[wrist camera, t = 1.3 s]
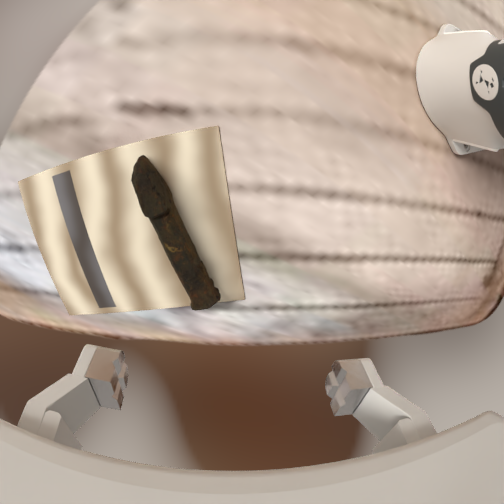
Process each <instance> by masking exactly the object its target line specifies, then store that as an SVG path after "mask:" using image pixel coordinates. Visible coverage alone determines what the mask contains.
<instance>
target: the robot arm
mask: <svg viewBox="0 0 504 504" xmlns="http://www.w3.org/2000/svg"><path fill="white" fill-rule="evenodd" d="M416 80H417V87H418V92H419V95H420V99H421V101H422V104H423V106H424V109H425V111H426V112H427V114H428V116H429V118H430V119H431V120H432V122H433V123H434V124H435V125H436V127H437V128H438V129H439V130H440V131H441V132H442V133H443V134H444V135H445V136H446V138H447V140H448V143H449V145H450V147H451V149H452V151H453V152H454V153H455V154H458V155H464V154H469V153H473V152H477V151H481V150H490V151H494V152H498V150H499V149H504V39H503V40H498V39H497V38H496V37H495V36H493V35H491V34H490V33H489V32H488V31H485V30H474V31H462V30H460V29H459V28H457V27H455V26H454V25H452V24H444V25H442V27H441V28H440V31H439V33H438V35H437V36H436V37H435V38H433V39H432V40H430V41H428V42H427V43H426V44H425V45H424V46H423V48H422V49H421V51H420V54H419V56H418V60H417V66H416ZM464 144H465V146H464ZM124 359H125V355H124V352H123V351H120V350H115V349H110V348H105V347H100V346H94V345H89V344H87V345H86V346H84V348H83V350H82V353H81V355H80V357H79V359H78V362H77V364H76V366H75V368H74V371H73V373H72V374H67V375H66V376H65V377H63V378H62V379H60V380H59V381H57V382H56V383H54V384H53V385H51V386H50V387H48V388H47V389H45V390H44V391H42V392H41V393H39V394H38V395H36V396H35V397H33V398H32V399H30V400H29V401H28V402H27V404H26V406H25V409H24V411H23V413H22V416H21V418H20V421H19V423H18V426H15V425H12V424H10V423H8V422H6V421H4V420H2V419H0V504H504V417H502V416H501V415H499V414H497V413H495V412H493V411H487V412H484V413H482V414H480V415H478V416H476V417H474V418H472V419H470V420H468V421H466V422H463V423H461V424H459V425H457V426H454V427H452V428H450V429H447V430H445V431H442V432H440V433H436V431H435V429H434V427H433V425H432V423H431V421H430V419H429V417H428V415H427V413H426V412H425V411H423V410H422V409H421V408H419V407H418V406H416V405H415V404H413V403H412V402H410V401H409V400H407V399H406V398H404V397H403V396H402V395H400V394H399V393H397V392H396V391H394V390H393V389H391V388H390V387H388V386H384V384H383V382H382V381H381V378H380V377H379V375H378V373H377V371H376V369H375V367H374V365H373V363H372V361H371V360H370V359H369V358H362V359H349V360H336V361H335V362H334V363H333V365H332V369H333V371H331V372H330V373H329V374H328V376H327V378H326V384H325V386H326V392H327V395H328V396H329V397H331V398H332V401H331V403H330V404H331V407H332V410H333V413H334V416H340V415H348V414H353V416H354V417H355V418H356V419H357V420H358V421H359V422H360V423H361V424H363V425H364V426H365V427H366V428H367V429H368V430H369V431H370V432H371V433H372V434H373V435H374V436H375V437H376V438H377V439H378V440H379V441H380V442H379V443H378V444H377V445H376V446H375V447H374V448H373V450H372V452H373V454H371V455H367V456H362V457H358V458H353V459H349V460H344V461H339V462H333V463H327V464H321V465H314V466H306V467H298V468H288V469H276V470H259V471H209V470H192V469H180V468H170V467H162V466H154V465H148V464H141V463H136V462H130V461H125V460H120V459H115V458H111V457H107V456H102V455H98V454H94V453H91V452H87V451H83V450H81V449H82V445H81V444H80V442H79V441H78V440H77V438H76V437H75V436H74V433H75V432H76V431H77V430H78V429H79V428H80V427H81V426H82V425H83V424H84V423H85V422H86V421H87V420H88V419H89V418H90V417H91V416H93V414H95V412H97V411H98V410H99V409H100V406H101V407H106V408H111V409H117V410H121V406H122V402H123V398H124V396H123V392H122V390H124V389H125V388H126V386H127V382H128V368H127V365H126V364H125V363H124Z"/></svg>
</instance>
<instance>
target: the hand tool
mask: <svg viewBox="0 0 504 504" xmlns="http://www.w3.org/2000/svg"><path fill="white" fill-rule="evenodd" d="M131 181H132V184H133V187H134V190H135V193H136V195H137V198H138V201H139V205H140V208H141V210H142V212H143V214H144V216H145V217H148V218H149V220H150V222H151V223H152V225H153V227H154V229H155V231H156V233H157V235H158V238H159V240H160V242H161V244H162V246H163V248H164V250H165V253H166V255H167V257H168V259H169V261H170V263H171V265H172V267H173V268H174V270H175V272H176V274H177V276H178V278H179V280H180V282H181V283H182V285H183V287H184V288H185V290H186V292H187V294H188V296H189V298H190V300H191V304H190V305H191V308H192V309H193V310H202V309H208V308H210V307H212V306H213V305H214V304H215V303H217V302H218V301H220V298H221V295H220V293H219V289H218V288H216V287H214V281H213V280H212V278H210V277H209V275H208V273H207V270H206V267H205V265H204V264H203V261H201V259H200V257H199V255H198V253H197V250H196V247H195V245H194V244H193V242H192V240H191V238H190V236H189V234H188V232H187V230H186V228H185V225H184V223H183V221H182V219H181V217H180V215H179V212H178V210H177V208H176V206H175V203H174V200H173V195H172V193H171V191H170V189H169V187H168V185H167V184H166V182H165V180H164V179H163V178H162V176H161V175H160V173H159V172H158V171H157V169H156V168H155V167H154V165H153V164H152V163H151V162H150V161H149V159H148V158H147V157H146V156H145V155H141V156H140V157H139V158H138V159H137V162H136V163H135V165H134V167H133V173H132V178H131Z"/></svg>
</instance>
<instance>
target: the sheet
mask: <svg viewBox="0 0 504 504" xmlns="http://www.w3.org/2000/svg"><path fill="white" fill-rule="evenodd" d="M141 155H145V156H146V157H147V158H148V159H149V161H150V162H151V163H152V164H153V165H154V167H155V168H156V169H157V171H158V172H159V173H160V175H161V176H162V178H163V179H164V180H165V182H166V184H167V185H168V187H169V189H170V191H171V193H172V195H173V200H174V203H175V206H176V208H177V210H178V212H179V215H180V217H181V219H182V221H183V223H184V225H185V228H186V230H187V232H188V234H189V236H190V238H191V240H192V242H193V244H194V245H195V247H196V250H197V253H198V255H199V257H200V259H201V261H203V264H204V265H205V267H206V270H207V273H208V275H209V277H210V278H212V280H213V281H214V287H216V288H218V289H219V293H220V295H221V298H220V301H218V302H217V303H219V302H228V301H236V300H244V299H245V296H244V290H243V283H242V277H241V271H240V265H239V259H238V252H237V246H236V240H235V233H234V227H233V220H232V214H231V207H230V201H229V194H228V188H227V181H226V174H225V167H224V161H223V154H222V147H221V140H220V133H219V126H214V127H208V128H202V129H196V130H190V131H185V132H180V133H175V134H170V135H165V136H161V137H156V138H152V139H147V140H143V141H139V142H135V143H131V144H127V145H124V146H120V147H116V148H113V149H109V150H105V151H102V152H99V153H95V154H92V155H89V156H86V157H83V158H80V159H76V160H73V161H71V162H68V163H65V164H62V165H59V166H56V167H54V168H51V169H48V170H46V171H43V172H40V173H38V174H35V175H33V176H30V177H28V178H25V179H23V180H21V181H18V184H19V188H20V192H21V195H22V199H23V202H24V206H25V209H26V212H27V215H28V218H29V221H30V224H31V227H32V230H33V233H34V236H35V238H36V241H37V244H38V246H39V249H40V252H41V254H42V257H43V259H44V261H45V264H46V266H47V269H48V271H49V273H50V275H51V278H52V280H53V282H54V284H55V286H56V289H57V291H58V293H59V295H60V297H61V299H62V301H63V303H64V305H65V307H66V309H67V311H68V313H69V315H83V314H100V313H114V312H128V311H140V310H152V309H163V308H173V307H183V306H191V305H190V304H191V300H190V298H189V296H188V294H187V292H186V290H185V288H184V287H183V285H182V283H181V282H180V280H179V278H178V276H177V274H176V272H175V270H174V268H173V267H172V265H171V263H170V261H169V259H168V257H167V255H166V253H165V250H164V248H163V246H162V244H161V242H160V240H159V238H158V235H157V233H156V231H155V229H154V227H153V225H152V223H151V222H150V220H149V218H148V217H145V216H144V214H143V212H142V210H141V208H140V205H139V201H138V198H137V195H136V193H135V190H134V187H133V184H132V181H131V178H132V173H133V167H134V165H135V163H136V162H137V159H138V158H139V157H140V156H141Z"/></svg>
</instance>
